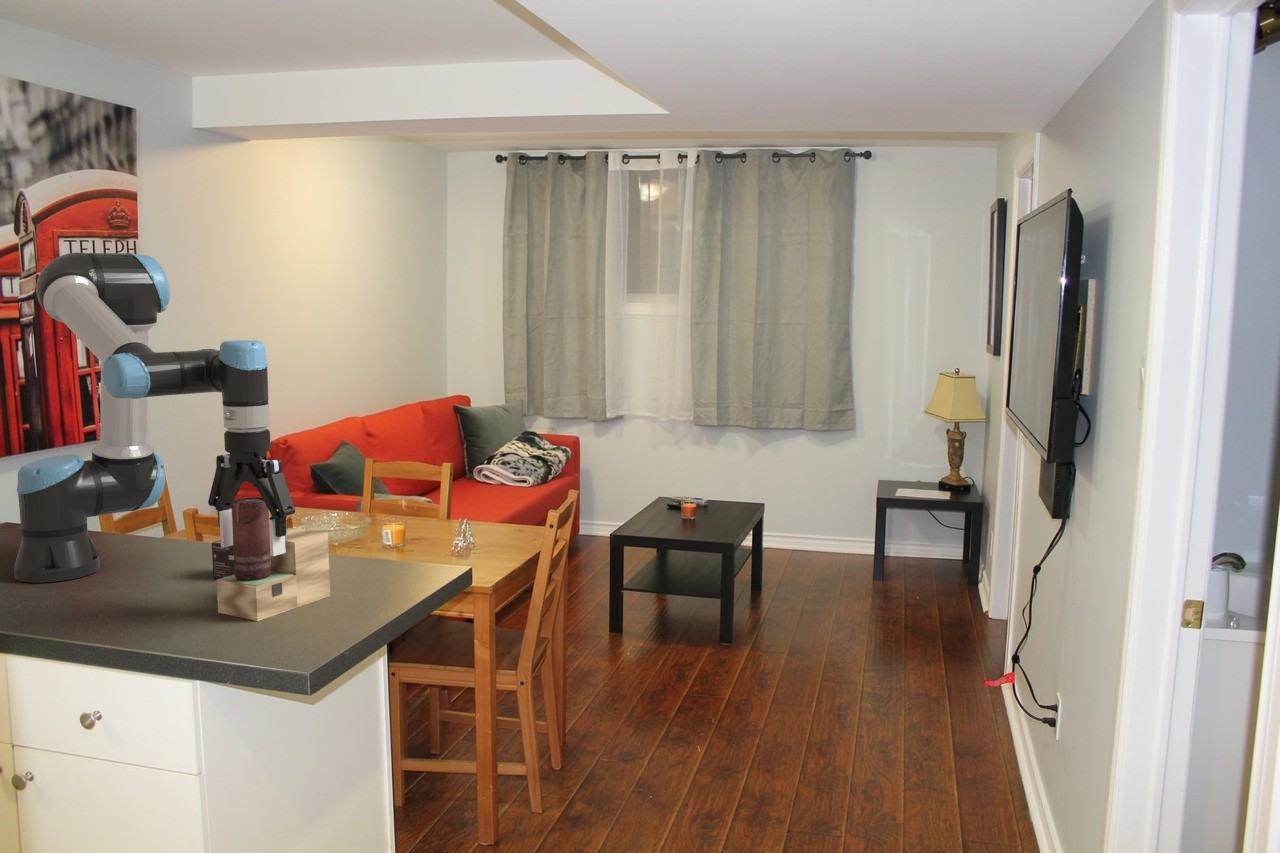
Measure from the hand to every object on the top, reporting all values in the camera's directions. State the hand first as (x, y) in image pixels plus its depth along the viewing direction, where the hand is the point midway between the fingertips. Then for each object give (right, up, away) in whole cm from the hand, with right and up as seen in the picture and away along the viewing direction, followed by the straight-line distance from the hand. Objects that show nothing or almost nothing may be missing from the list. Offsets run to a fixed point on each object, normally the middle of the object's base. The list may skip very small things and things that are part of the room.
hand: (252, 550), depth 183 cm
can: (0, -5, +1) cm, 5 cm away
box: (-13, -8, +24) cm, 28 cm away
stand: (+2, -10, +6) cm, 12 cm away
